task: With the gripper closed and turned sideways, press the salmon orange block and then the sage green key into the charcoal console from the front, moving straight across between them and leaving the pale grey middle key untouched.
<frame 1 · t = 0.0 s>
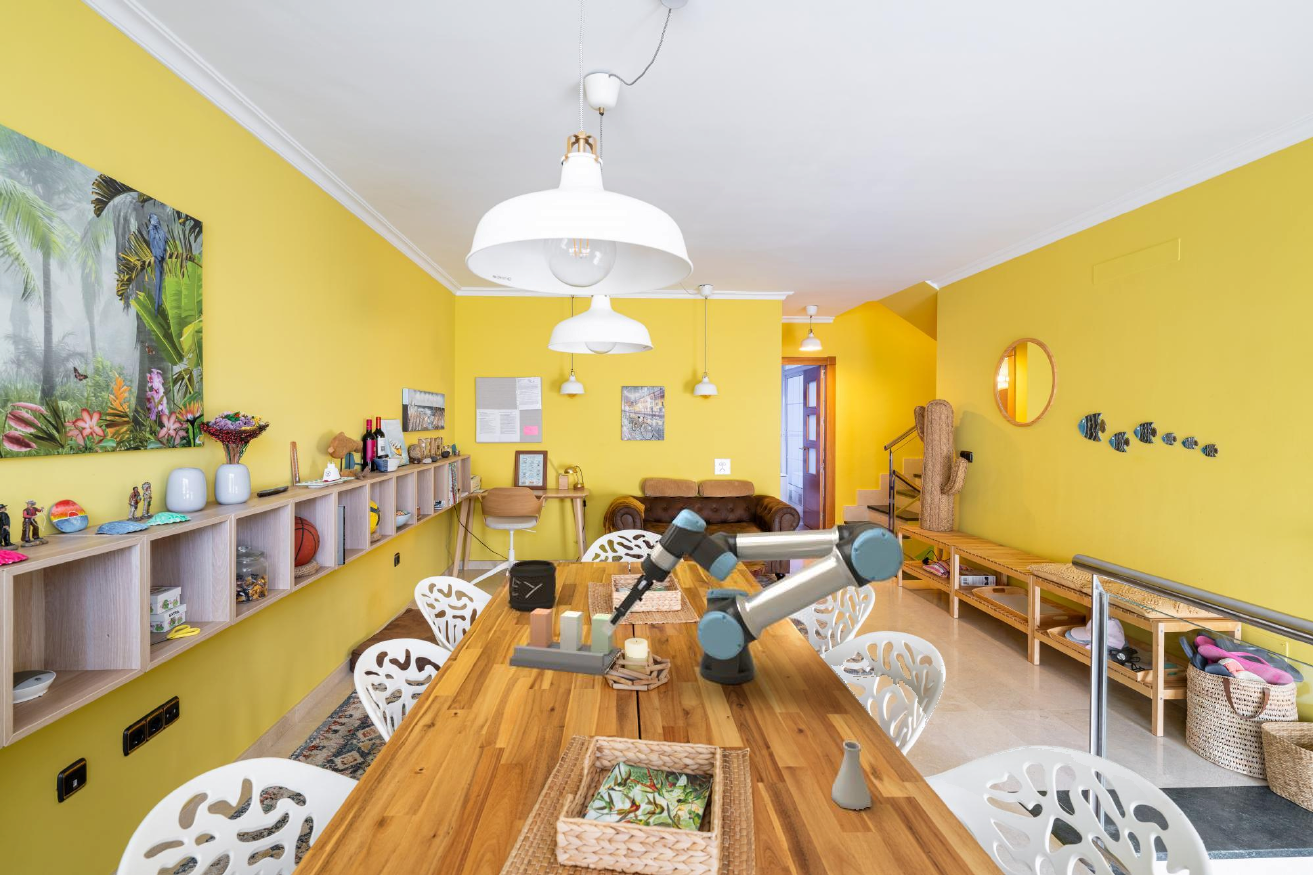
hand: (613, 624, 161), 15 cm above the table, tool tilted 35°, fingers open, 13 cm apart
grey key: (571, 630, 179), point 7 cm above the table, slide at 0.0 cm
black lettered canister: (531, 606, 228), on the table
salmon orange block: (541, 628, 181), point 7 cm above the table, slide at 0.0 cm
sage key: (602, 633, 177), point 7 cm above the table, slide at 0.0 cm
console: (566, 659, 176), on the table
flask: (851, 800, 111), on the table
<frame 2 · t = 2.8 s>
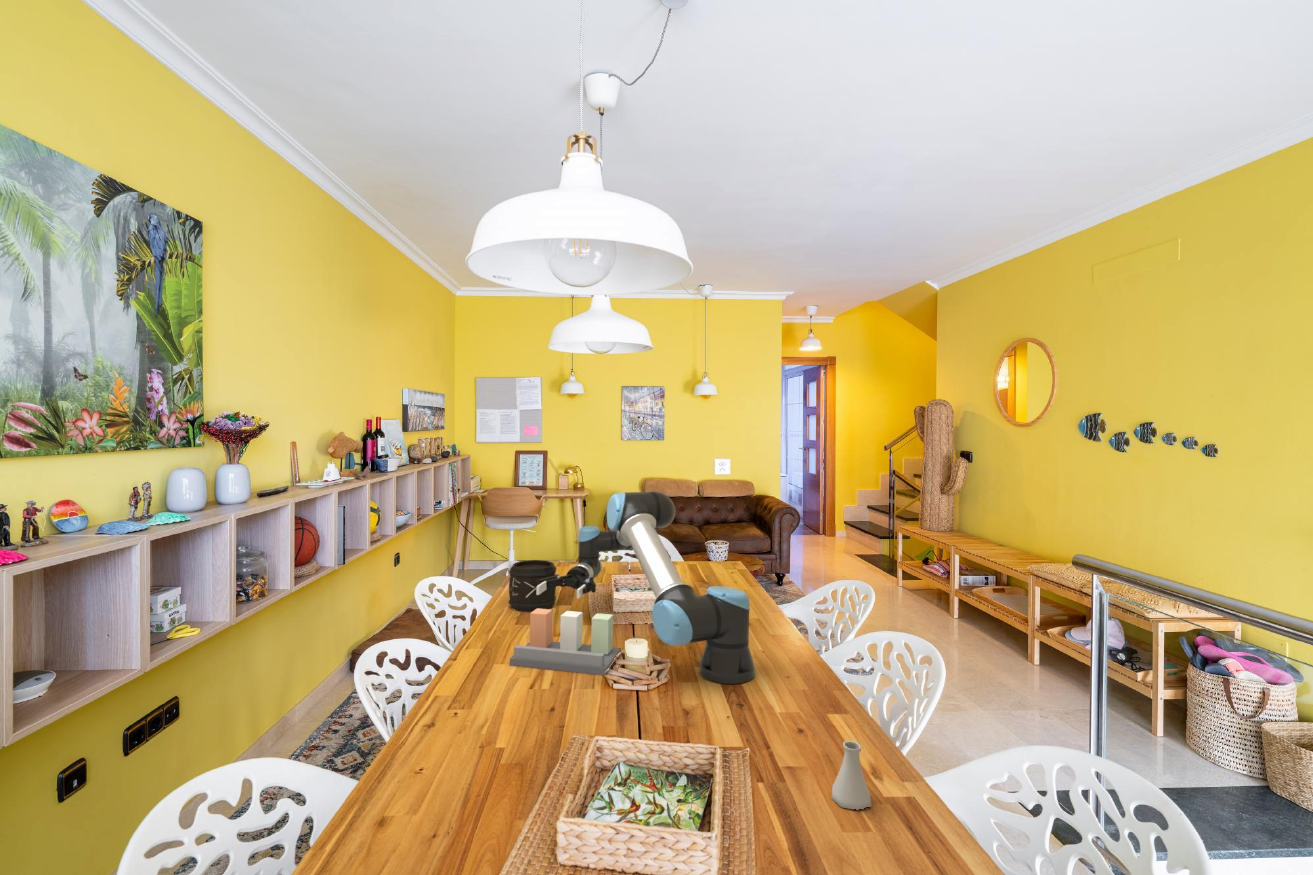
hand: (557, 592, 193), 15 cm above the table, tool horizontal, fingers open, 13 cm apart
nothing on the table moved.
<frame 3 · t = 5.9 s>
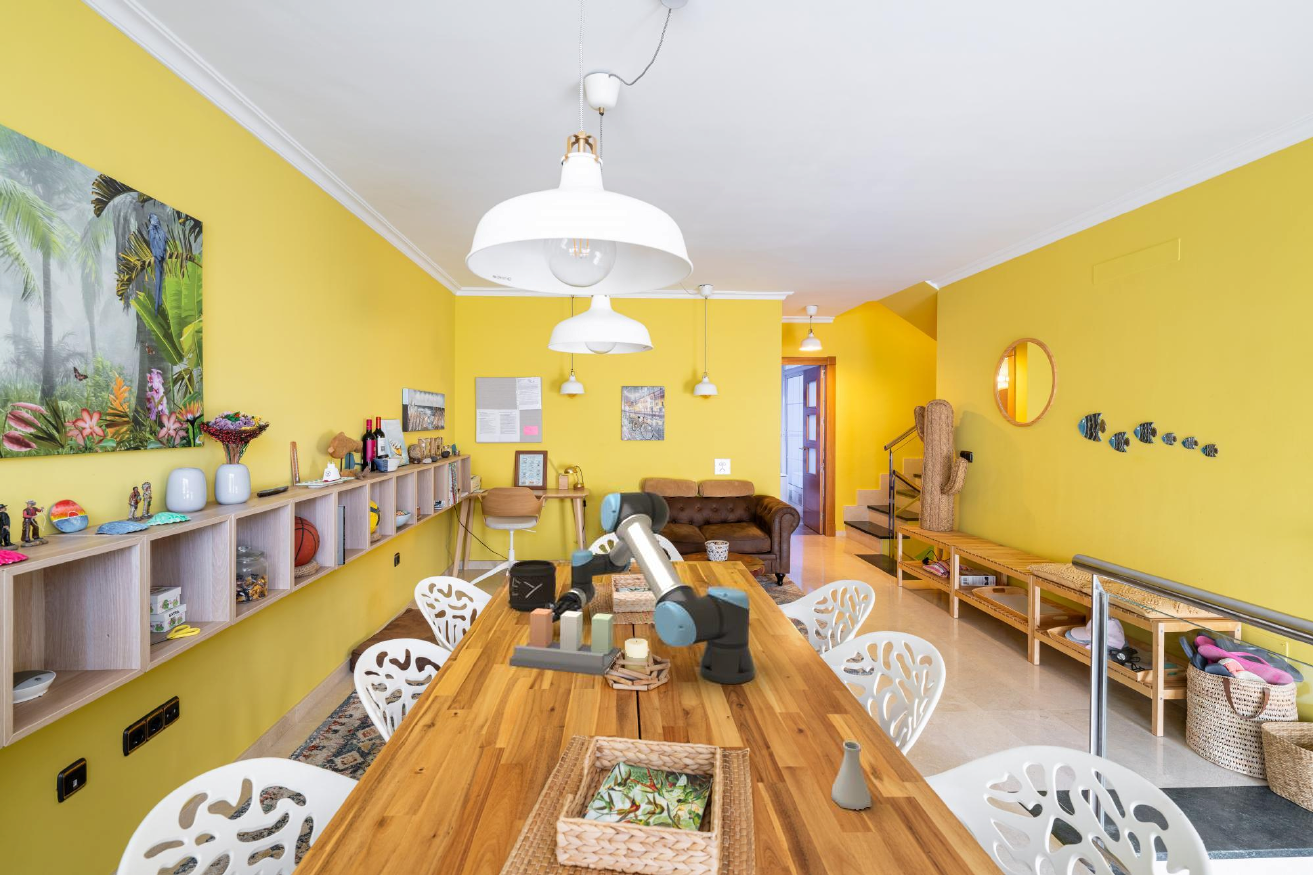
hand: (543, 623, 184), 8 cm above the table, tool horizontal, fingers closed
salmon orange block: (541, 628, 181), point 7 cm above the table, slide at 0.0 cm, touching gripper
everything else where it was.
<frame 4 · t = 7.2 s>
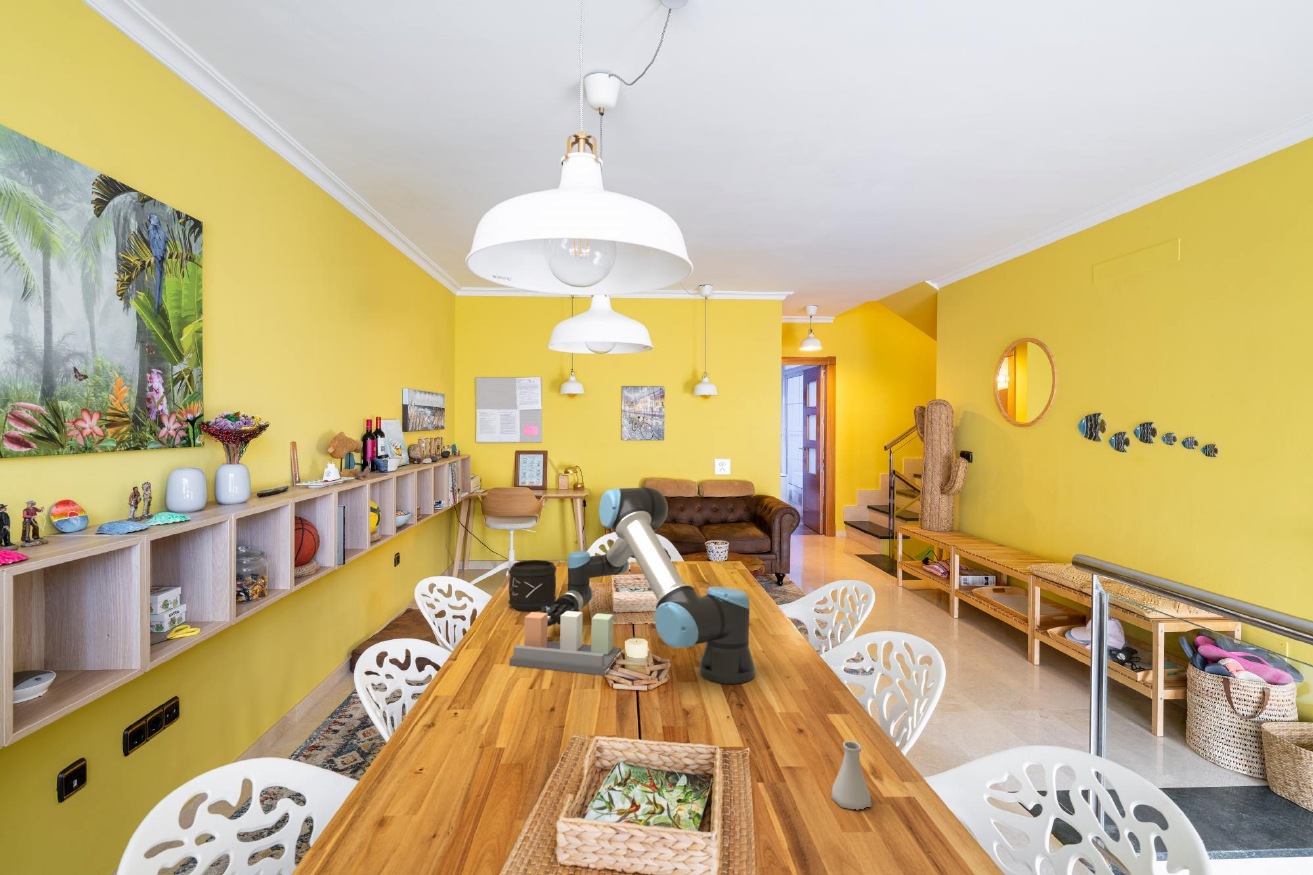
hand: (539, 626, 180), 8 cm above the table, tool horizontal, fingers closed
salmon orange block: (536, 632, 177), point 7 cm above the table, slide at 3.8 cm, touching gripper
everything else where it was.
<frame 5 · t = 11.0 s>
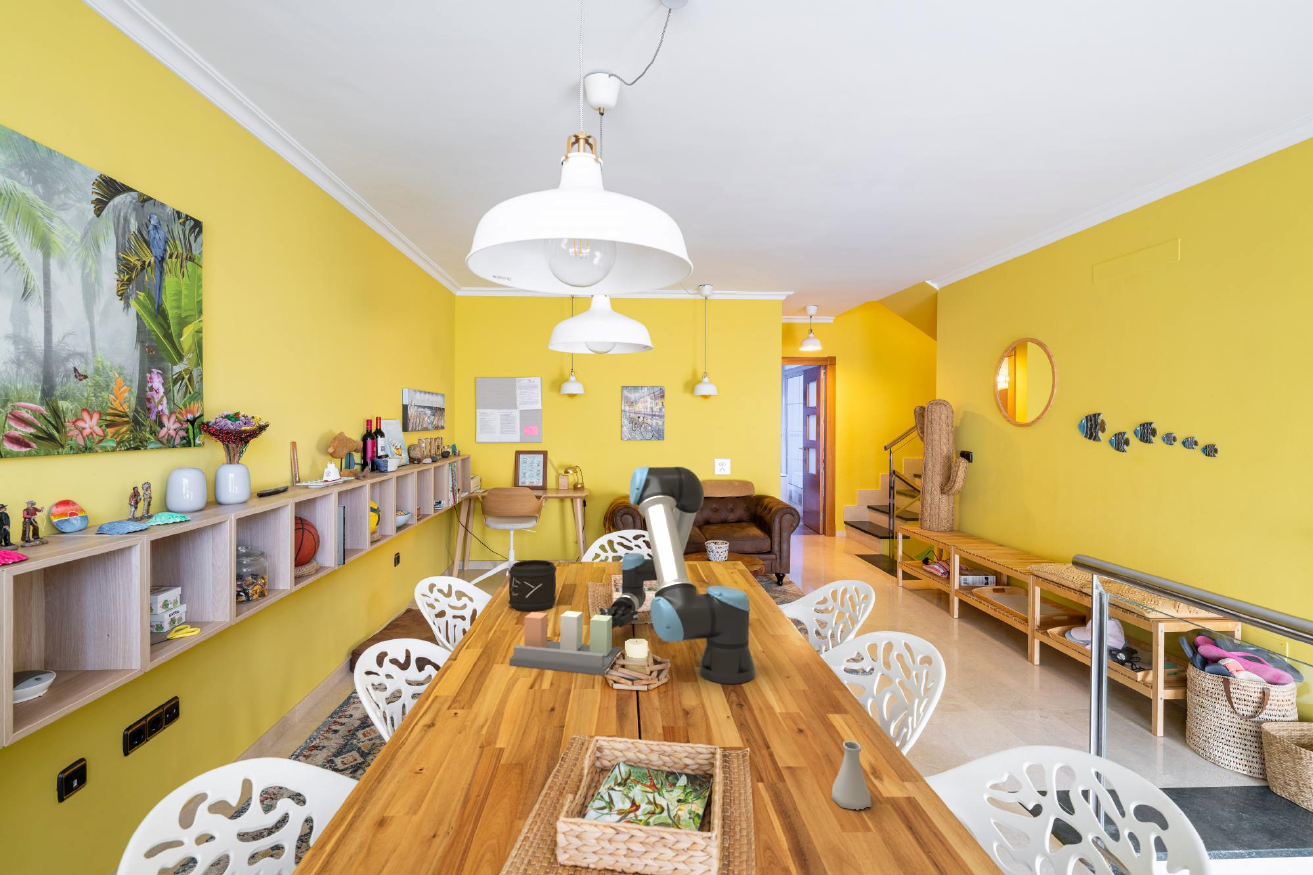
hand: (603, 629, 178), 8 cm above the table, tool horizontal, fingers closed
salmon orange block: (536, 632, 177), point 7 cm above the table, slide at 3.8 cm
sage key: (600, 635, 176), point 7 cm above the table, slide at 1.3 cm, touching gripper
everything else where it was.
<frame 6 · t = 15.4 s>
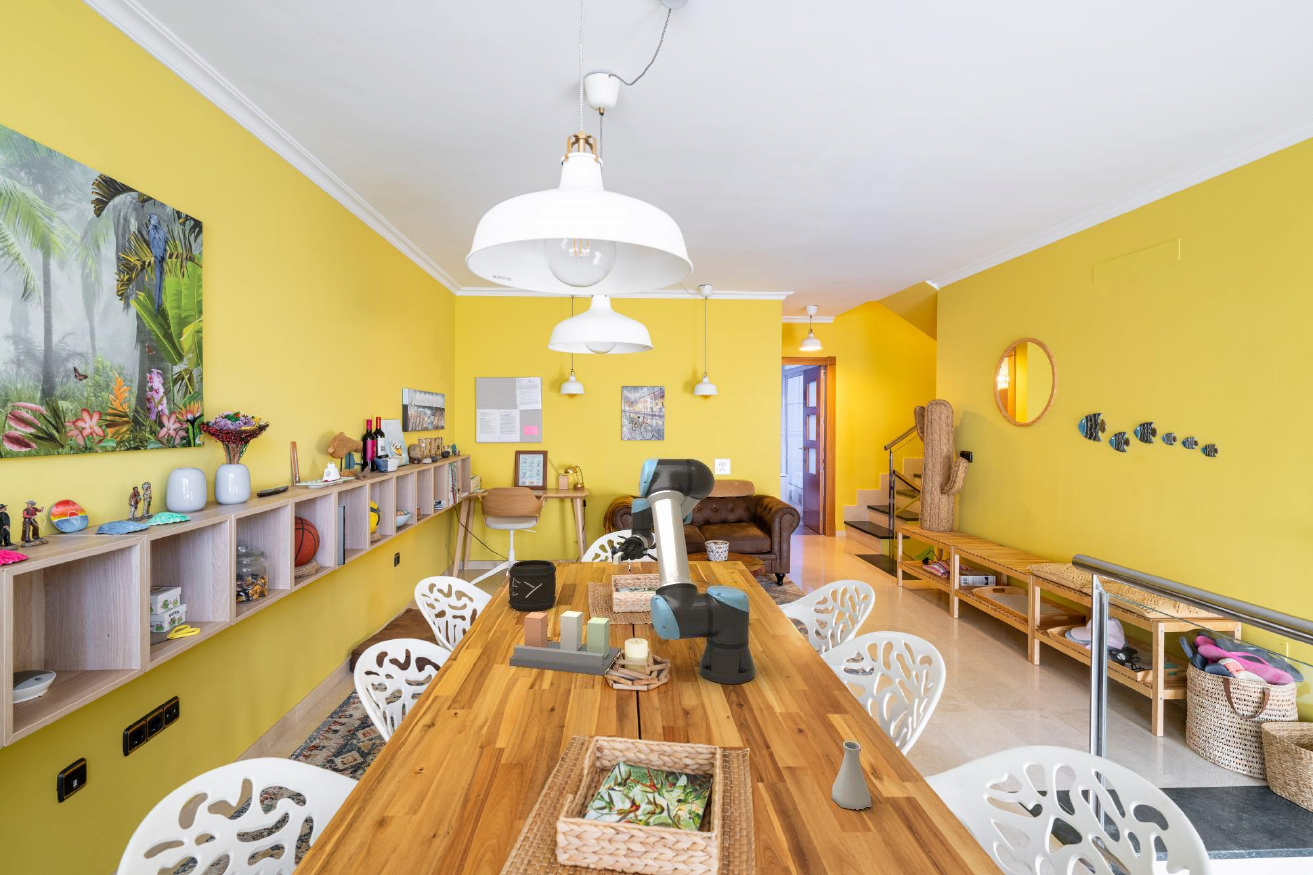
hand: (615, 560, 189), 26 cm above the table, tool horizontal, fingers closed
sage key: (598, 637, 173), point 7 cm above the table, slide at 3.8 cm
everything else where it was.
at the end: salmon orange block slide at 3.8 cm; sage key slide at 3.8 cm; grey key slide at 0.0 cm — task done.
